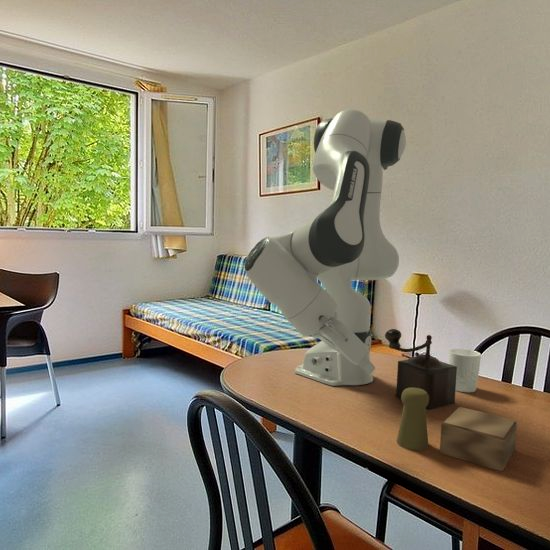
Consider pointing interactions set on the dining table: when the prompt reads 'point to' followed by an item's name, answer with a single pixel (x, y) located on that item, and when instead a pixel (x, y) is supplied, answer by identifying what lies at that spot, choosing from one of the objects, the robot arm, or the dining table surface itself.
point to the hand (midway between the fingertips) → (361, 363)
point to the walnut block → (478, 438)
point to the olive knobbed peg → (413, 420)
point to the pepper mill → (424, 373)
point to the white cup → (465, 368)
